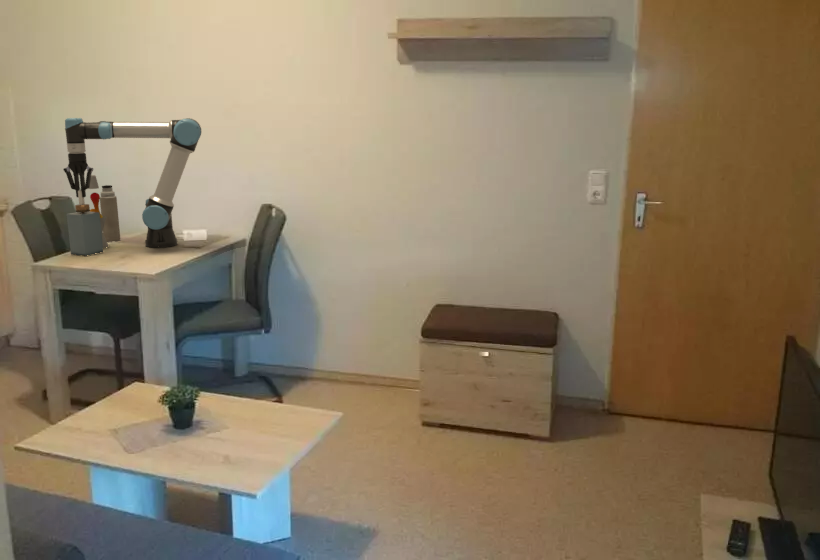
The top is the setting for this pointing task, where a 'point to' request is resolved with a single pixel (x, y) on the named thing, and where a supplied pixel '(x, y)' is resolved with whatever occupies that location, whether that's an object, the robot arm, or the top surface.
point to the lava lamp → (97, 206)
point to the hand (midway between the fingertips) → (81, 204)
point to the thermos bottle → (110, 214)
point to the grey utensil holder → (85, 233)
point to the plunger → (82, 208)
